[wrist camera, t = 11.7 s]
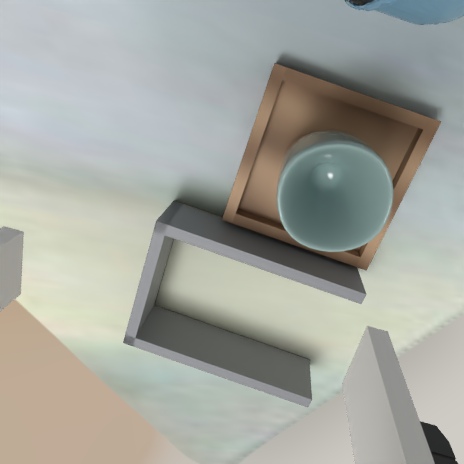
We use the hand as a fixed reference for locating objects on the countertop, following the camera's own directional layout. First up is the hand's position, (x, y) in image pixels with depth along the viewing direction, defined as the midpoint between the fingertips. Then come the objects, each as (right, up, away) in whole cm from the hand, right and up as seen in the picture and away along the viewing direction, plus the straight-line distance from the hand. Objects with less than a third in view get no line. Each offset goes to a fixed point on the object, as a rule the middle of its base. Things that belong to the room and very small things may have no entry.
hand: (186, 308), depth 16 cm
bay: (+4, -3, +28) cm, 28 cm away
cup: (+10, +8, +22) cm, 26 cm away
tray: (+10, +8, +22) cm, 26 cm away
